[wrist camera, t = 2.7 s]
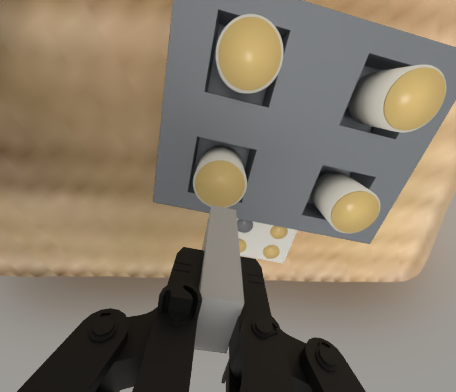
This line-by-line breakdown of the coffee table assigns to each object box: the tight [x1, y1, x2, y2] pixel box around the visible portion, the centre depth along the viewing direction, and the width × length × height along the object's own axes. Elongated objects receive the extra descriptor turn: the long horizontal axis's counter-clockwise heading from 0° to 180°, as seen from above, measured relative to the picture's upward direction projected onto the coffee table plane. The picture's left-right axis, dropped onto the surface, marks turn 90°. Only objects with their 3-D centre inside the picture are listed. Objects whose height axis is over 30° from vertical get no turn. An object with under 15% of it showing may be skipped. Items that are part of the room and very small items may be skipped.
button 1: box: [193, 145, 247, 208], centre depth 22 cm, size 5×5×5 cm
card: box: [237, 218, 297, 263], centre depth 32 cm, size 10×7×1 cm
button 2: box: [216, 14, 283, 93], centre depth 18 cm, size 5×5×5 cm
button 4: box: [348, 64, 446, 133], centre depth 19 cm, size 5×5×5 cm
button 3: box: [311, 171, 380, 234], centre depth 23 cm, size 5×5×5 cm
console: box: [153, 0, 456, 244], centre depth 24 cm, size 26×20×5 cm
